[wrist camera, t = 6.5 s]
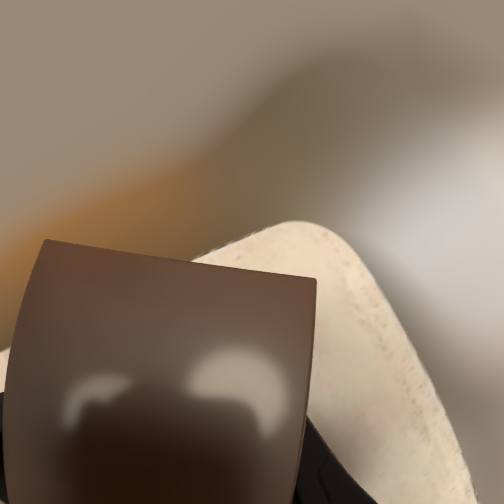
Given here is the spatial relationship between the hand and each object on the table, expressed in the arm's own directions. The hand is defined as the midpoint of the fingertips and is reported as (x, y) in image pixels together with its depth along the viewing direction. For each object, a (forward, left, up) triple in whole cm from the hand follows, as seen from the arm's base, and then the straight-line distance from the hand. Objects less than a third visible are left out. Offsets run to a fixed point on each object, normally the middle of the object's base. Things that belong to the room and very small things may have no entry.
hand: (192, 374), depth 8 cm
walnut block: (-1, -1, -7) cm, 7 cm away
